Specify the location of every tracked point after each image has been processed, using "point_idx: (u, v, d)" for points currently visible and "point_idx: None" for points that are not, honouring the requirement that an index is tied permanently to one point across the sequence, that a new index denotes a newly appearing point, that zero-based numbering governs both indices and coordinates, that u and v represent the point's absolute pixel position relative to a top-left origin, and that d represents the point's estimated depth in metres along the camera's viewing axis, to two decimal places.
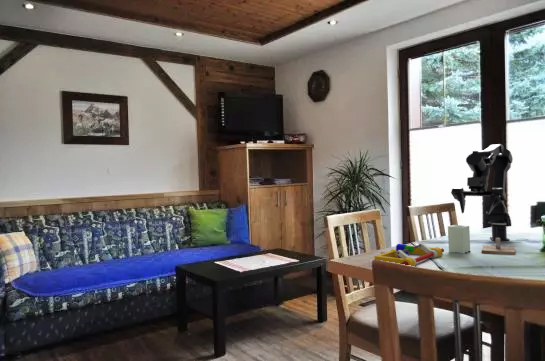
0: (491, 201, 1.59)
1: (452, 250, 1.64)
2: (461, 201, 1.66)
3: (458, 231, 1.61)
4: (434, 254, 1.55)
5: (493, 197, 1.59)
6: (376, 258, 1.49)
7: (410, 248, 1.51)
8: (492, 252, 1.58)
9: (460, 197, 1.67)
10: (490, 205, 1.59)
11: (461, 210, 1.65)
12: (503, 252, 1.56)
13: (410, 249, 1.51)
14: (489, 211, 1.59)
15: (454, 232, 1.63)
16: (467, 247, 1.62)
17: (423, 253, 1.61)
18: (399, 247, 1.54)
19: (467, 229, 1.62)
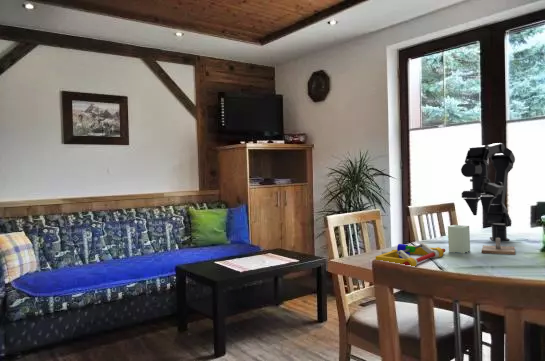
0: (490, 202, 1.75)
1: (452, 250, 1.64)
2: (477, 204, 1.69)
3: (458, 231, 1.61)
4: (435, 254, 1.54)
5: (493, 199, 1.75)
6: (377, 258, 1.49)
7: (411, 248, 1.51)
8: (492, 252, 1.58)
9: (478, 201, 1.68)
10: (489, 205, 1.76)
11: (476, 213, 1.70)
12: (503, 252, 1.56)
13: (411, 249, 1.51)
14: None
15: (454, 232, 1.63)
16: (467, 247, 1.62)
17: (424, 253, 1.61)
18: (400, 247, 1.54)
19: (467, 229, 1.62)
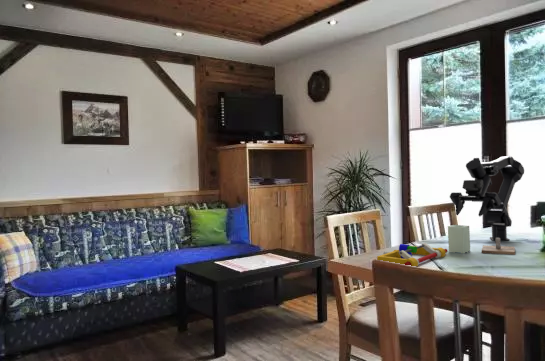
0: (484, 204, 1.65)
1: (452, 250, 1.64)
2: (457, 204, 1.74)
3: (458, 231, 1.61)
4: (437, 254, 1.54)
5: (486, 200, 1.65)
6: (379, 258, 1.49)
7: (412, 248, 1.51)
8: (492, 252, 1.58)
9: (457, 200, 1.74)
10: (482, 207, 1.65)
11: None
12: (503, 252, 1.56)
13: (413, 249, 1.51)
14: (480, 213, 1.65)
15: (454, 232, 1.63)
16: (467, 247, 1.62)
17: (426, 253, 1.60)
18: (402, 247, 1.53)
19: (467, 229, 1.62)
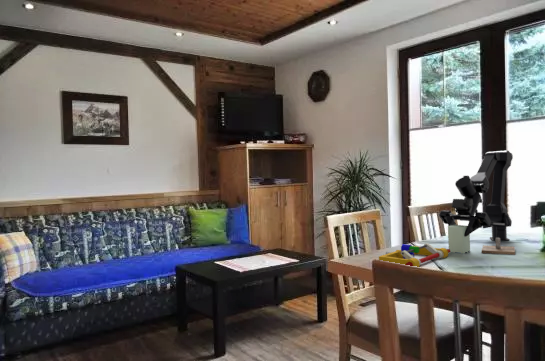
0: (469, 224, 1.61)
1: (452, 250, 1.64)
2: (450, 223, 1.67)
3: (458, 231, 1.61)
4: (440, 255, 1.53)
5: (472, 220, 1.61)
6: (380, 258, 1.48)
7: (415, 248, 1.50)
8: (492, 252, 1.58)
9: (449, 219, 1.68)
10: (468, 227, 1.61)
11: None
12: (503, 252, 1.56)
13: (415, 249, 1.50)
14: (466, 233, 1.60)
15: (454, 232, 1.63)
16: (467, 247, 1.62)
17: (429, 254, 1.60)
18: (404, 247, 1.53)
19: None
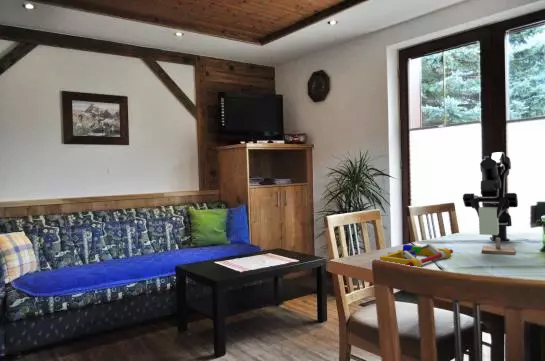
0: (500, 205, 1.60)
1: (483, 232, 1.60)
2: (477, 205, 1.64)
3: (491, 213, 1.59)
4: (442, 255, 1.52)
5: (502, 201, 1.60)
6: (382, 258, 1.48)
7: (416, 249, 1.50)
8: (492, 252, 1.58)
9: (476, 202, 1.65)
10: (499, 208, 1.59)
11: (478, 214, 1.62)
12: (503, 252, 1.56)
13: (417, 250, 1.50)
14: (498, 214, 1.59)
15: (486, 214, 1.60)
16: (498, 228, 1.60)
17: (431, 254, 1.59)
18: (406, 248, 1.52)
19: None
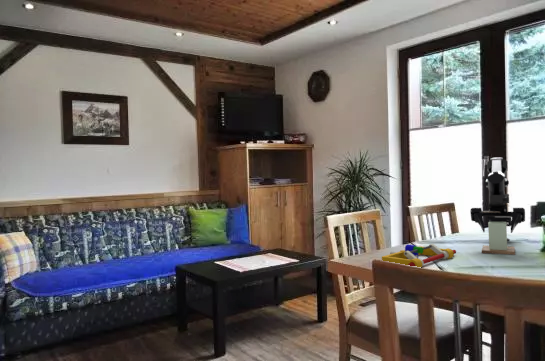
0: (513, 220, 1.59)
1: (493, 247, 1.60)
2: (482, 220, 1.65)
3: (501, 227, 1.59)
4: (444, 255, 1.52)
5: (515, 216, 1.59)
6: (383, 258, 1.48)
7: (418, 249, 1.49)
8: (492, 252, 1.58)
9: (480, 216, 1.65)
10: (513, 223, 1.59)
11: (483, 229, 1.63)
12: (503, 252, 1.56)
13: (419, 250, 1.49)
14: (512, 229, 1.58)
15: (496, 229, 1.59)
16: None
17: (434, 254, 1.58)
18: (408, 248, 1.52)
19: None
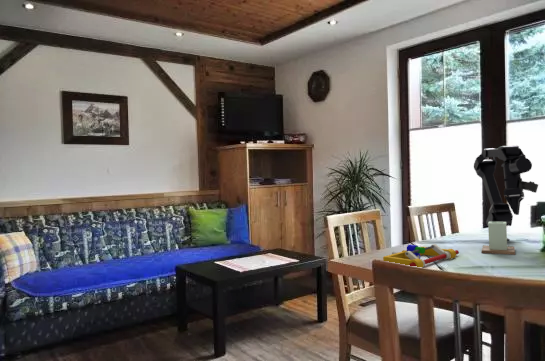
0: None
1: (493, 247, 1.60)
2: (518, 202, 1.64)
3: (501, 227, 1.59)
4: (447, 256, 1.51)
5: (521, 200, 1.74)
6: (385, 258, 1.48)
7: (420, 249, 1.49)
8: (492, 252, 1.58)
9: (519, 199, 1.64)
10: (519, 207, 1.73)
11: (517, 212, 1.65)
12: (503, 252, 1.56)
13: (420, 250, 1.48)
14: (518, 212, 1.73)
15: (496, 229, 1.59)
16: None
17: (436, 254, 1.57)
18: (410, 248, 1.51)
19: None
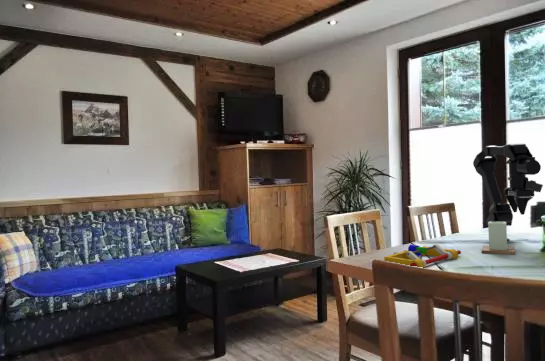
0: None
1: (493, 247, 1.60)
2: None
3: (501, 227, 1.59)
4: (448, 256, 1.50)
5: None
6: (386, 259, 1.48)
7: (421, 249, 1.48)
8: (492, 252, 1.58)
9: None
10: None
11: (524, 212, 1.65)
12: (503, 252, 1.56)
13: (422, 250, 1.48)
14: None
15: (496, 229, 1.59)
16: None
17: (438, 255, 1.57)
18: (411, 248, 1.51)
19: None
